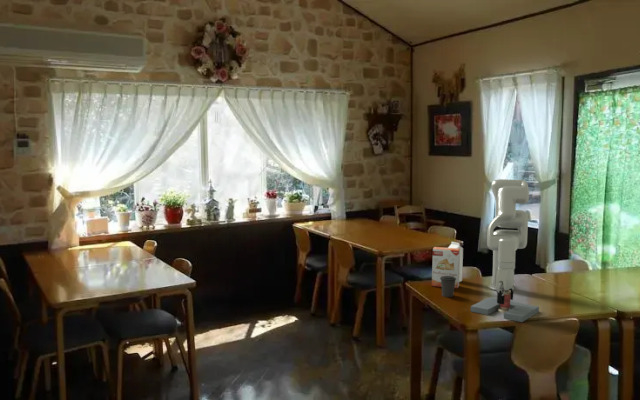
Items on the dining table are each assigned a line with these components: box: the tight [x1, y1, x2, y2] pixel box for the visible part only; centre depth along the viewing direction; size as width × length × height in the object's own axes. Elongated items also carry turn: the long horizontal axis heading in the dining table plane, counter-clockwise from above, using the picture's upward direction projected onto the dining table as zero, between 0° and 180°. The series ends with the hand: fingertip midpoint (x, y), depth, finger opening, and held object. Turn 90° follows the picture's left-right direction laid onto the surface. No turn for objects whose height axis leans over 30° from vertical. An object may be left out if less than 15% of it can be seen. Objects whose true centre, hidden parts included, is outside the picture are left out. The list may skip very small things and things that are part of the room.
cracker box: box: [431, 246, 460, 289], centre depth 306 cm, size 14×6×21 cm, turn 70°
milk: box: [447, 241, 464, 283], centre depth 318 cm, size 6×6×22 cm
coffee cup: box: [440, 276, 456, 298], centre depth 288 cm, size 8×8×10 cm
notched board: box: [470, 297, 540, 323], centre depth 262 cm, size 20×24×2 cm
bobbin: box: [497, 290, 511, 314], centre depth 262 cm, size 6×6×10 cm
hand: (505, 301), depth 262 cm, fingers open, 9 cm apart
